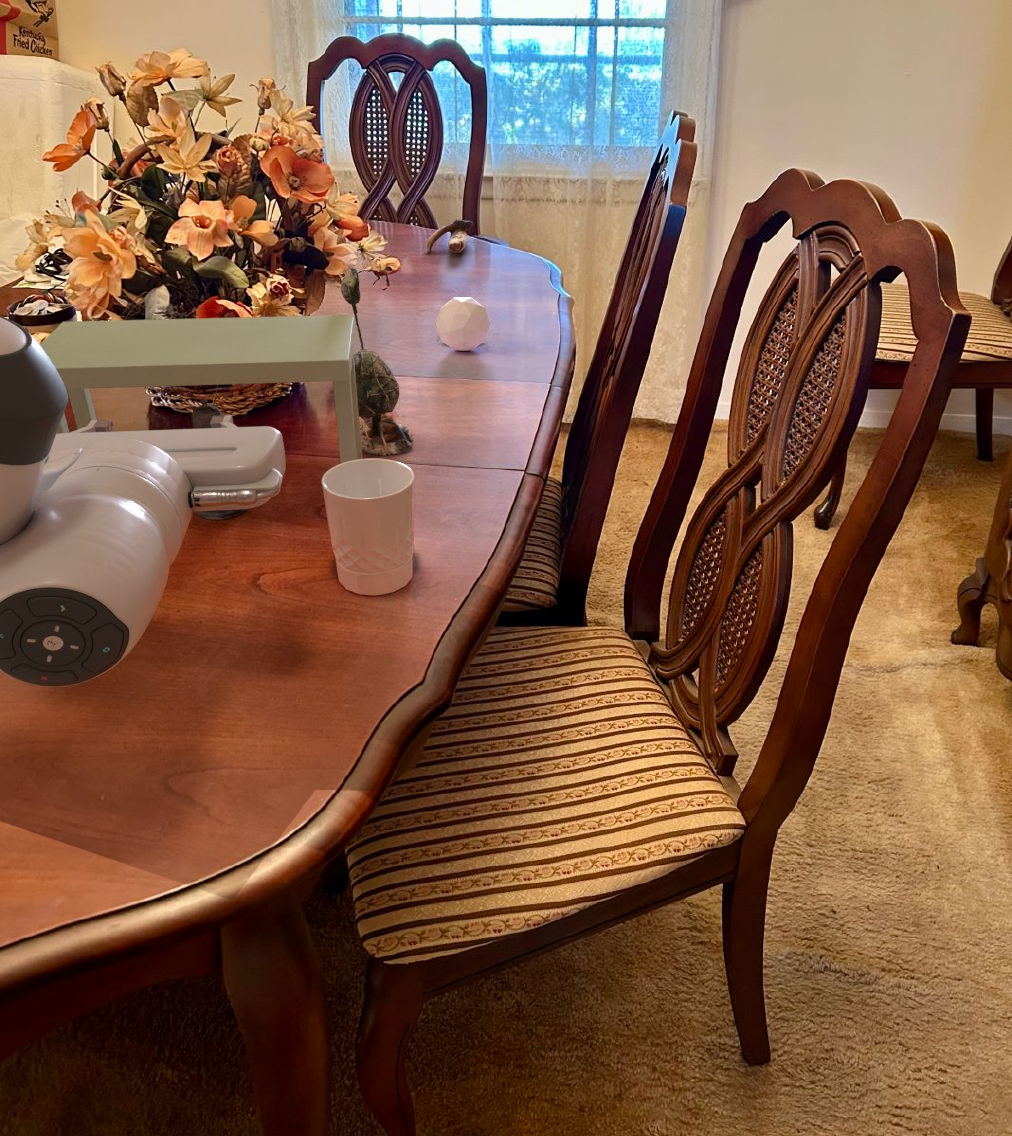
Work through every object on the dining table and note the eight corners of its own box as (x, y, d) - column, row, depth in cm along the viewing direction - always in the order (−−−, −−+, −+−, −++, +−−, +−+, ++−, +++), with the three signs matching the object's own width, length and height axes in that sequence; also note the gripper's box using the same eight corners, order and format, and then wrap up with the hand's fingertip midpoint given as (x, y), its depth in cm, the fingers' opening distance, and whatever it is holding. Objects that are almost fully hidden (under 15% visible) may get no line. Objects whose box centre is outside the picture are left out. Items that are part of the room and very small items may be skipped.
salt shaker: (230, 525, 93) (210, 412, 87) (180, 515, 95) (158, 403, 88) (262, 500, 98) (246, 391, 91) (215, 490, 99) (196, 383, 93)
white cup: (397, 607, 81) (390, 505, 75) (316, 590, 83) (304, 490, 78) (432, 562, 87) (428, 465, 82) (356, 548, 89) (347, 452, 84)
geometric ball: (457, 362, 142) (456, 311, 143) (500, 351, 138) (499, 299, 139) (425, 349, 136) (425, 296, 137) (470, 337, 132) (469, 283, 132)
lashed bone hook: (431, 240, 202) (423, 258, 186) (430, 217, 200) (422, 234, 184) (474, 239, 202) (470, 257, 186) (473, 216, 199) (469, 232, 184)
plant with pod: (337, 465, 105) (319, 286, 94) (352, 426, 114) (338, 259, 104) (409, 466, 105) (400, 287, 94) (418, 426, 114) (410, 259, 104)
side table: (62, 537, 91) (14, 369, 82) (100, 474, 102) (62, 321, 94) (362, 524, 93) (348, 359, 84) (365, 464, 105) (353, 314, 96)
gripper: (272, 458, 63) (290, 384, 75) (-45, 470, 61) (24, 392, 73) (283, 538, 66) (299, 456, 78) (-18, 552, 64) (45, 466, 76)
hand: (164, 425), depth 75 cm, fingers open, 8 cm apart
